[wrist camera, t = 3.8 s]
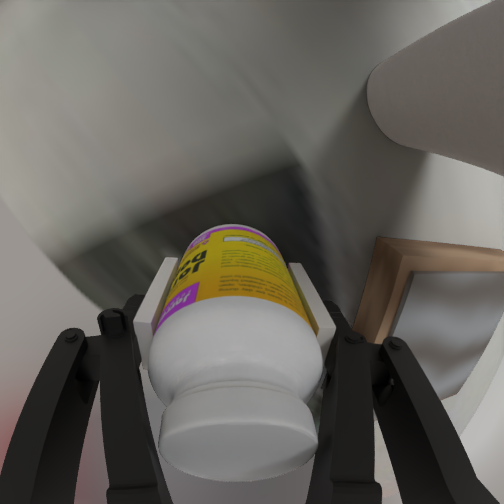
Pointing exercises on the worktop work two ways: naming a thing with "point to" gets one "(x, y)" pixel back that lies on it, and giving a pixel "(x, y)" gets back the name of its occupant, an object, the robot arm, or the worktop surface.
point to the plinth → (434, 304)
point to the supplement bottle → (235, 361)
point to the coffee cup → (447, 90)
